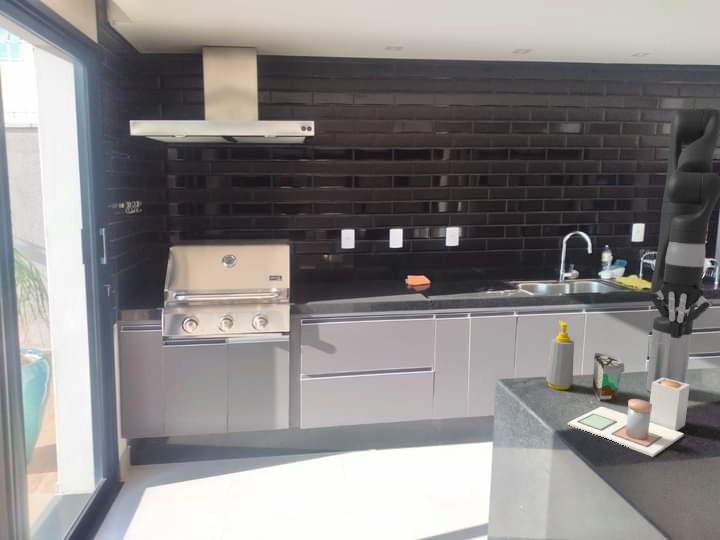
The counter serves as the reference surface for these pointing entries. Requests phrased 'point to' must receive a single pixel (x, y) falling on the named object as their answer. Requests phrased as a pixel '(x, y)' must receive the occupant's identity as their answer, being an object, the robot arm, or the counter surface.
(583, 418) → the picture board
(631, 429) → the peach-capped grey cylinder
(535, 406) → the counter surface
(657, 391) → the white open box
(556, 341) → the soap bottle
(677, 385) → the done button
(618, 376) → the food container
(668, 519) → the counter surface
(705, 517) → the counter surface
